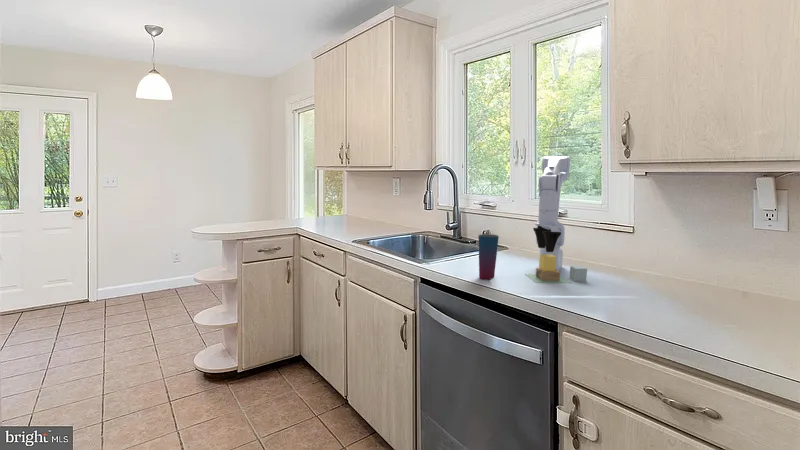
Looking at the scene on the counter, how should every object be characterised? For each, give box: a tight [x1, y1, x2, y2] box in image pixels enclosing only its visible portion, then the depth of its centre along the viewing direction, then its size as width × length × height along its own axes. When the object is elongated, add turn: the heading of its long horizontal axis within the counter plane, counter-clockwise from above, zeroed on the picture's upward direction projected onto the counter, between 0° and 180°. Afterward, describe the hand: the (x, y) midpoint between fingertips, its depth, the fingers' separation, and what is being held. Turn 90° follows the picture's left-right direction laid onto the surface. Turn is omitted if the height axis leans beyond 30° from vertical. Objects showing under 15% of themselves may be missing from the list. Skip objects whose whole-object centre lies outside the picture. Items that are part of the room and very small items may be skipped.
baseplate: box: [524, 273, 572, 284], centre depth 145 cm, size 12×12×1 cm
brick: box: [569, 265, 588, 282], centre depth 144 cm, size 4×4×5 cm
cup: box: [478, 233, 500, 281], centre depth 146 cm, size 7×7×15 cm
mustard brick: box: [538, 254, 556, 271], centre depth 145 cm, size 4×4×5 cm
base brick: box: [535, 268, 561, 281], centre depth 145 cm, size 6×6×3 cm
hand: (545, 249), depth 145 cm, fingers open, 7 cm apart
